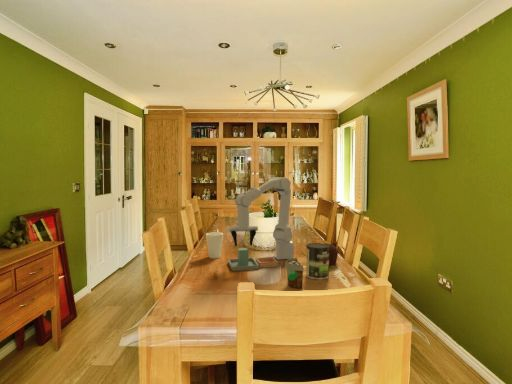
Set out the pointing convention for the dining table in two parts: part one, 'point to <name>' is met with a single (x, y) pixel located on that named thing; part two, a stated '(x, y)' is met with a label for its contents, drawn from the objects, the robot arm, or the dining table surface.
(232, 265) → the slate tray
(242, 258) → the teal block
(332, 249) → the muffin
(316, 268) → the coffee can
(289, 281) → the food container
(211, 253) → the foam cup
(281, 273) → the dining table surface
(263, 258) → the orange square frame
